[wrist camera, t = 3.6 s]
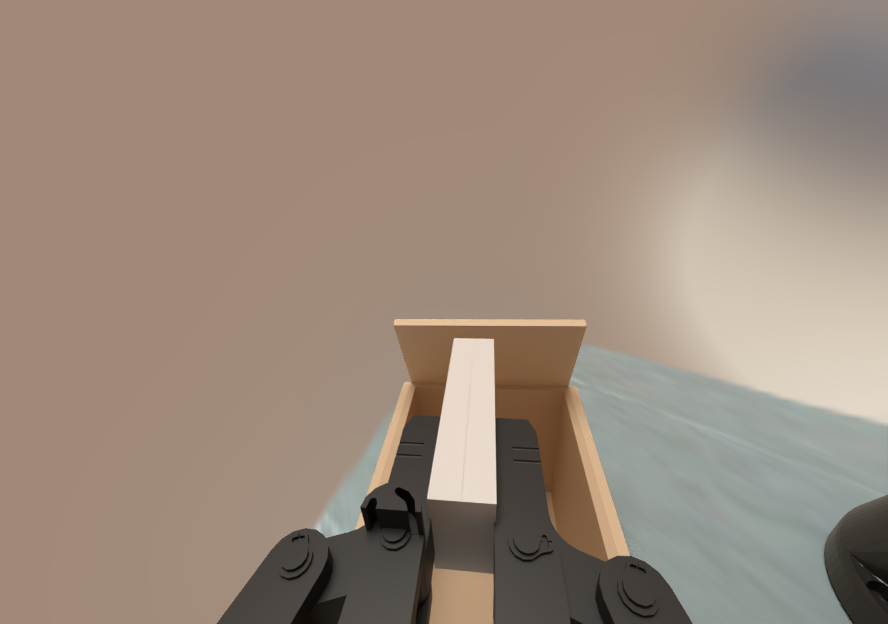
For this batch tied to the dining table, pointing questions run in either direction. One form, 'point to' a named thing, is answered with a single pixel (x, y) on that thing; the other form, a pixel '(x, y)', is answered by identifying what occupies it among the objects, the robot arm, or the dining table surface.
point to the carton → (565, 477)
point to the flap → (515, 348)
